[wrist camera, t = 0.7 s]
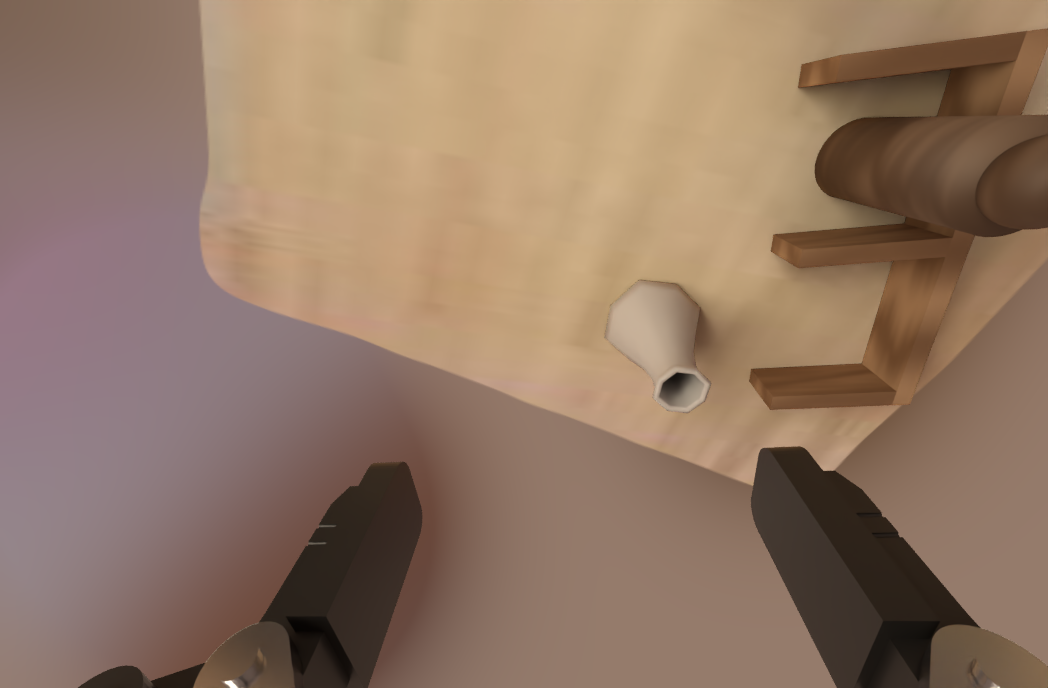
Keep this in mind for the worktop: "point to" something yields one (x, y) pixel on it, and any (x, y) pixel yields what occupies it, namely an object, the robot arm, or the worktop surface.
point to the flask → (660, 341)
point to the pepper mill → (944, 170)
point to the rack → (901, 227)
